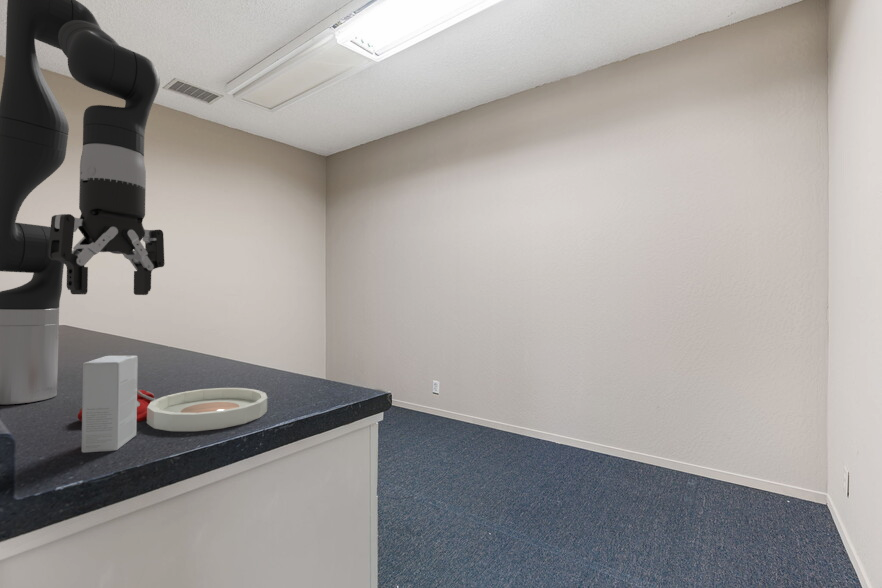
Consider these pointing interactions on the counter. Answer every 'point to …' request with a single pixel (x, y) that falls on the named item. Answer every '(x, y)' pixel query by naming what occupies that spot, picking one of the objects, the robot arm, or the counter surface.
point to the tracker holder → (142, 404)
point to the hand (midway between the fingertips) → (111, 294)
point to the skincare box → (109, 402)
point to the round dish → (206, 409)
